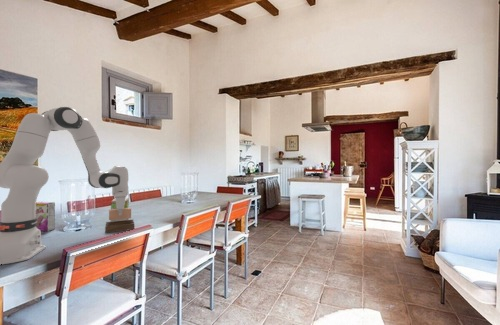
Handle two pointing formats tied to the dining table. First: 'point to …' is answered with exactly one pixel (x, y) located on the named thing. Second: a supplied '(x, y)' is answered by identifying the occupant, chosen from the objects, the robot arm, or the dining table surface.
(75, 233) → the dining table surface
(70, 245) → the dining table surface
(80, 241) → the dining table surface
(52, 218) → the candy bar box
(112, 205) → the tea box
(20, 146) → the robot arm
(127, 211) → the tile strip
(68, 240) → the dining table surface
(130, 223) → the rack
